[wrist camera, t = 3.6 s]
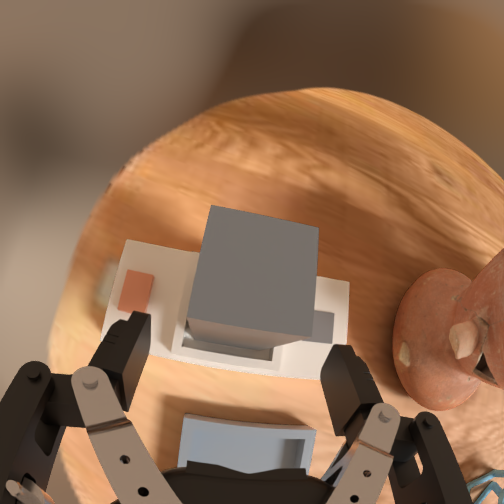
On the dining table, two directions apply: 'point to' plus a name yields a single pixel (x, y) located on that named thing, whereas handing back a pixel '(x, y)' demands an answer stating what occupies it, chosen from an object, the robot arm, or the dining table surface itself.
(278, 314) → the block
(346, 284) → the white rectangular base
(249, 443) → the tray
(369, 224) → the dining table surface
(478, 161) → the dining table surface
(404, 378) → the ceramic jug
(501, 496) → the chair
